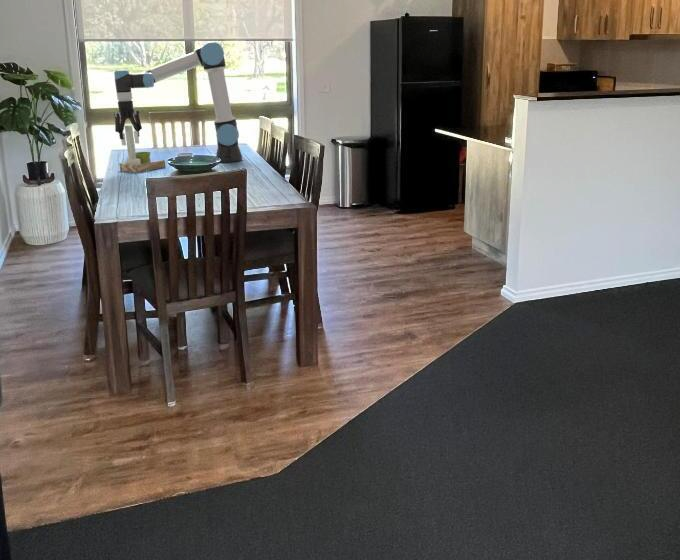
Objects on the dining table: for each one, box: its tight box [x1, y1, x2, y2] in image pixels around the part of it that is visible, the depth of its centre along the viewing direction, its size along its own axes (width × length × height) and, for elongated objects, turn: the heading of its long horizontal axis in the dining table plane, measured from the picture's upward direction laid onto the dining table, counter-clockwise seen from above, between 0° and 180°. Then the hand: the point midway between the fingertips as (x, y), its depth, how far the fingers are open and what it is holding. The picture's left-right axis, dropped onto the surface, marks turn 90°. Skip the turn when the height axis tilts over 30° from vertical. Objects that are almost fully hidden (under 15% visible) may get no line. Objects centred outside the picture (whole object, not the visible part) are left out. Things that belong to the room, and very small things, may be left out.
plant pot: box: [135, 151, 152, 164], centre depth 401 cm, size 9×9×9 cm
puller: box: [124, 124, 141, 165], centre depth 395 cm, size 11×2×24 cm, turn 49°
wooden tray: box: [118, 159, 167, 173], centre depth 402 cm, size 15×19×4 cm
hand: (130, 144), depth 394 cm, fingers open, 8 cm apart
